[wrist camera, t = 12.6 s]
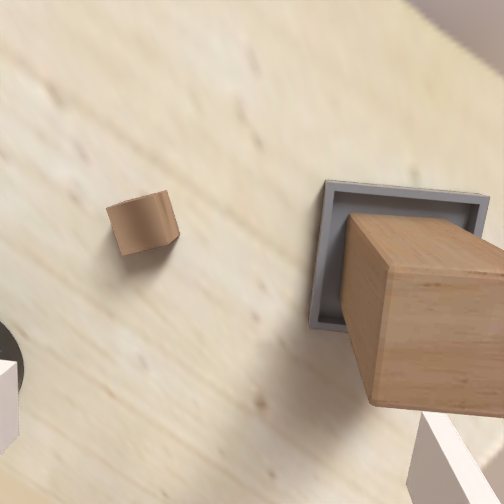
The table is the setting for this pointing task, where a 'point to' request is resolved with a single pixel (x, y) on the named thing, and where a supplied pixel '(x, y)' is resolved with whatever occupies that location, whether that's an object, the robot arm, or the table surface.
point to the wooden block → (425, 314)
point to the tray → (384, 203)
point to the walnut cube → (143, 223)
